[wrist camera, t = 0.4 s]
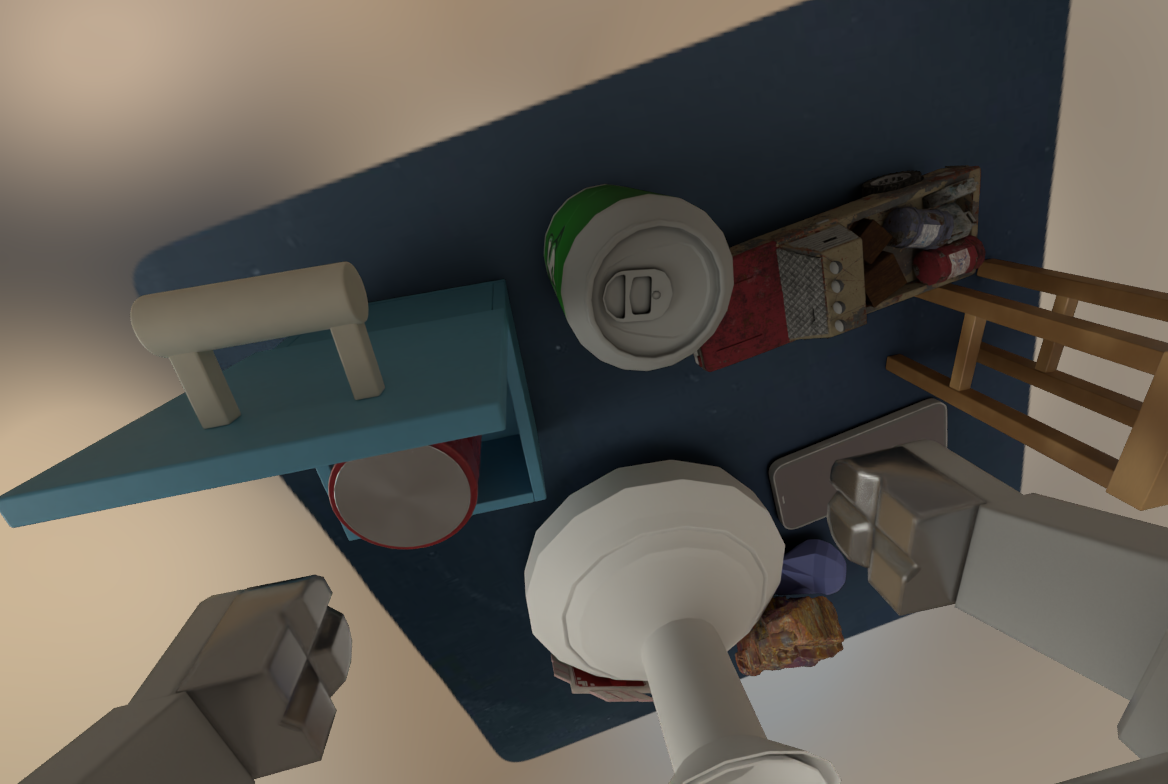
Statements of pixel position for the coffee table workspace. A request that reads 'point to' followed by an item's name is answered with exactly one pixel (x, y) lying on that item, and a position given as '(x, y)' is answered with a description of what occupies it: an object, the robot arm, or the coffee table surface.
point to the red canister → (408, 493)
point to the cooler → (515, 450)
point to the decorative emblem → (601, 684)
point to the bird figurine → (812, 569)
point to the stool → (1159, 424)
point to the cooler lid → (280, 392)
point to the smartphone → (808, 470)
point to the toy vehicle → (849, 262)
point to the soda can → (638, 274)
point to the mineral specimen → (790, 636)
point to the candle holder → (669, 608)
